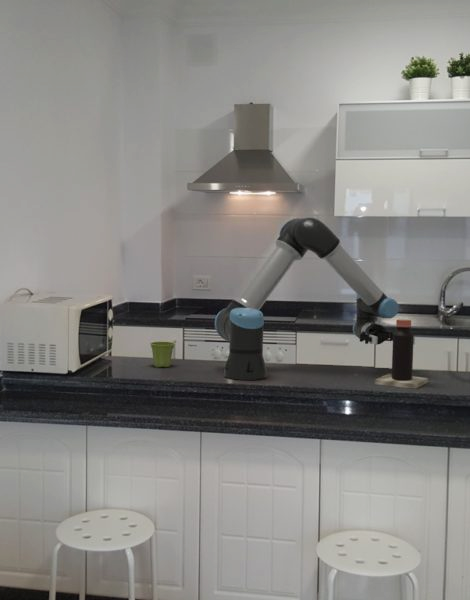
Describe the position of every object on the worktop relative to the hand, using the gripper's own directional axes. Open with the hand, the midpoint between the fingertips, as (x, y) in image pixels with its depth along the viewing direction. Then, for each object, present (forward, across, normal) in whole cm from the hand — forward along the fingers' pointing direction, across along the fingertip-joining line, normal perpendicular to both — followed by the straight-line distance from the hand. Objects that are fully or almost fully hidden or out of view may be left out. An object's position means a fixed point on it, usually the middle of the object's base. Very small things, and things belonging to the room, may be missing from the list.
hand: (395, 340), depth 246 cm
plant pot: (-31, +79, -14) cm, 86 cm away
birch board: (+7, 0, -14) cm, 15 cm away
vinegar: (+7, 0, -12) cm, 14 cm away
